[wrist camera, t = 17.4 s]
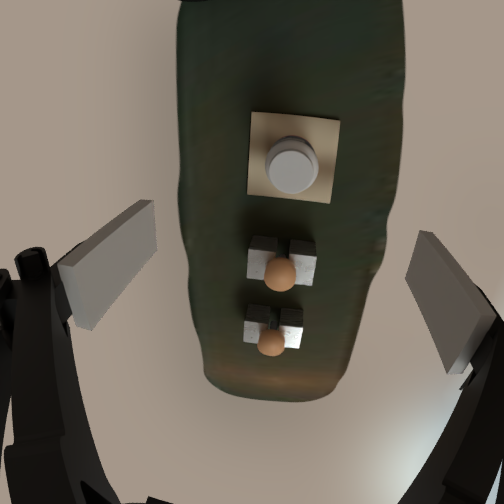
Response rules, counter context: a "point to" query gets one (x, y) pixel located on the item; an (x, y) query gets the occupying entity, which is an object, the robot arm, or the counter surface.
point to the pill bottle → (291, 164)
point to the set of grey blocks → (258, 258)
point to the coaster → (310, 128)
